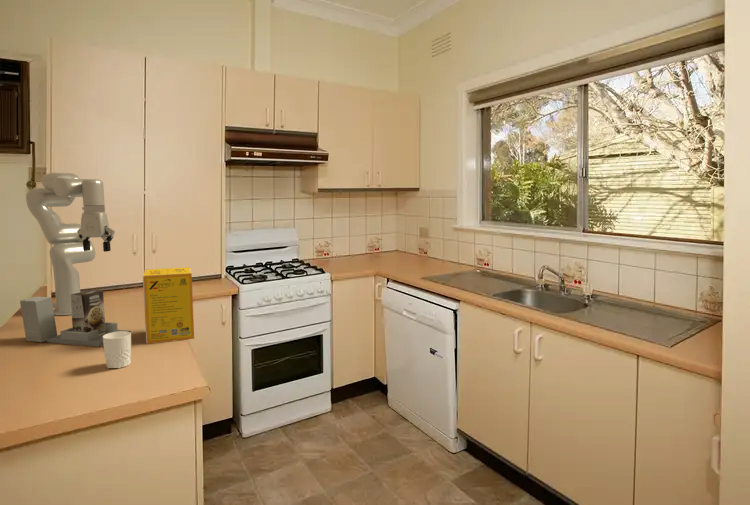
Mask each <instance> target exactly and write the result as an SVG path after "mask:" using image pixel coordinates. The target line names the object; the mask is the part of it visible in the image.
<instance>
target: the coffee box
mask: <svg viewBox="0 0 750 505" xmlns="http://www.w3.org/2000/svg"><path fill="white" fill-rule="evenodd" d="M71 309H72V315H71V322H72V327H73V332H85V333H88V332H90V331H93V330H98V334H100V333H102V332H105V322H106V317H105V300H104V290H99V289H98V290H97V289H95V290H93V289H90V290H89V289H88V290H86V291H80V293H75V294H71Z"/></svg>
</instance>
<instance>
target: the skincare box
mask: <svg viewBox="0 0 750 505" xmlns="http://www.w3.org/2000/svg"><path fill="white" fill-rule="evenodd" d="M19 304H20V308H21V314H22V315H21V316H22V322H23V328H24V334H25V341H27V342H34V343H35V342H37V343H43V342H44V343H45V342H47V339H49V338H52V337H55V336H58V331H57V326H56V318H55V315H54V307H53V299H52V296H51V297H48V296H33V297H29V298H25V299H20V300H19Z"/></svg>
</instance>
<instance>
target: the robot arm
mask: <svg viewBox="0 0 750 505" xmlns="http://www.w3.org/2000/svg"><path fill="white" fill-rule="evenodd" d="M41 184H42V186H43V187H44V188H43V187H42V188H41V187H39V188H33V189H30V190H29V191H27V193H26V194H25V201H26V206H27V208H28V210H29V212H30V213H31V215H32V216H33V217H34V218H35V219H36V221H37V222H38V224H39V226H40V228H41V230H42V231H41V232H42V233H43V235H44V237H45V239H46V241H47V242H48V244H50V245H51V247H50V249H49V258H50V261H51V264H52V270H53V279H54V292H55V301H54V302H52V304H53V308H54V309H53V311H54V316H72V309H71V294H75V293H80V292H81V281H80V272H79V270H78V269H77V268H76V267H74V265H75V264H82V263H83V264H84V263H88V262H92V261H93V260H94V259H95V257H96V251H95V247H94V244H93V243H92V240H91V238H100V239H102V240H103V242H102V249H103V252H104V253H105V252H111V251H112V250H111V242H112V241H113V239H114V237H115V234H116V231H115V230H113V229H112V228H110V226H109V219H108V216H107V212H106V206H105V190H104V181H103V180H101V179H93V178H91V179H89V178H80V177H79V176H78V175H77V174H75V173H69V172H49V173H47V174H45V175H43V176H42V178H41ZM76 198H82V204H83V205H82V207H81V208H82V211H83V212H82V213H81V219H80V223H79V224H78V223H64V222H63V221H62V219H61V217H60V215H59V214H58V213H57V212H56V211H54V210H53V209H51V208H50V207H53V208H54V207H55V208H57V207H58V208H59V207H63V208H64V207H69V206H71V205H72V204H73V202H74V201H75V199H76Z"/></svg>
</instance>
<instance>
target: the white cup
mask: <svg viewBox="0 0 750 505" xmlns="http://www.w3.org/2000/svg"><path fill="white" fill-rule="evenodd" d="M127 331H128V330H127ZM127 331H119V332H112V333H108V334H105V335H104V336H103V345H102V346H103V352H104V359H105V363H106V368H107V369H109V368H119V369H121V368H120V367H124V366H127V365H129V364H130V363H131V358H132V357H131V355H132V332H131V333H130V332H127ZM130 365H131V364H130ZM130 365H129V366H130ZM127 367H128V366H127ZM124 368H125V367H124Z"/></svg>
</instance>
